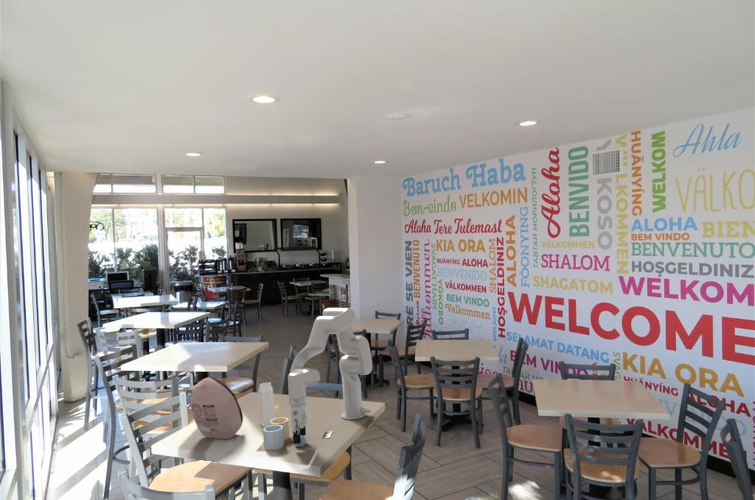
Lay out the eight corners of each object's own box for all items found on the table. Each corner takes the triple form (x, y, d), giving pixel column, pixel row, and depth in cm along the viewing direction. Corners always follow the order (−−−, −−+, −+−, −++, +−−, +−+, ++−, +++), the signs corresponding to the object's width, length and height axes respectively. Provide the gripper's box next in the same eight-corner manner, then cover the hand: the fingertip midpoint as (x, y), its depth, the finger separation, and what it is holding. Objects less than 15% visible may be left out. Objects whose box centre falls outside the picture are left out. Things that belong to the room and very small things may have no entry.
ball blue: (307, 444, 228) (306, 433, 227) (304, 449, 223) (304, 437, 222) (296, 445, 228) (295, 433, 228) (293, 449, 223) (293, 438, 223)
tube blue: (285, 442, 230) (284, 424, 230) (280, 449, 222) (279, 431, 222) (267, 442, 231) (266, 425, 231) (261, 450, 222) (260, 432, 222)
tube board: (332, 431, 243) (332, 429, 243) (323, 452, 219) (322, 449, 219) (272, 433, 246) (272, 431, 246) (256, 453, 222) (256, 451, 222)
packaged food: (249, 432, 249) (245, 371, 248) (222, 448, 231) (218, 382, 231) (214, 428, 258) (211, 369, 257) (185, 443, 240) (181, 380, 239)
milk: (275, 426, 255) (272, 383, 255) (263, 429, 252) (261, 385, 252) (271, 423, 260) (269, 380, 260) (259, 426, 257) (257, 382, 257)
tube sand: (291, 434, 240) (290, 417, 240) (286, 440, 232) (285, 423, 232) (274, 434, 241) (273, 417, 241) (268, 441, 232) (267, 423, 232)
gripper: (301, 406, 216) (303, 446, 216) (310, 394, 233) (312, 432, 233) (284, 406, 217) (286, 447, 217) (294, 395, 234) (296, 432, 234)
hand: (299, 439), depth 225 cm, fingers open, 9 cm apart
